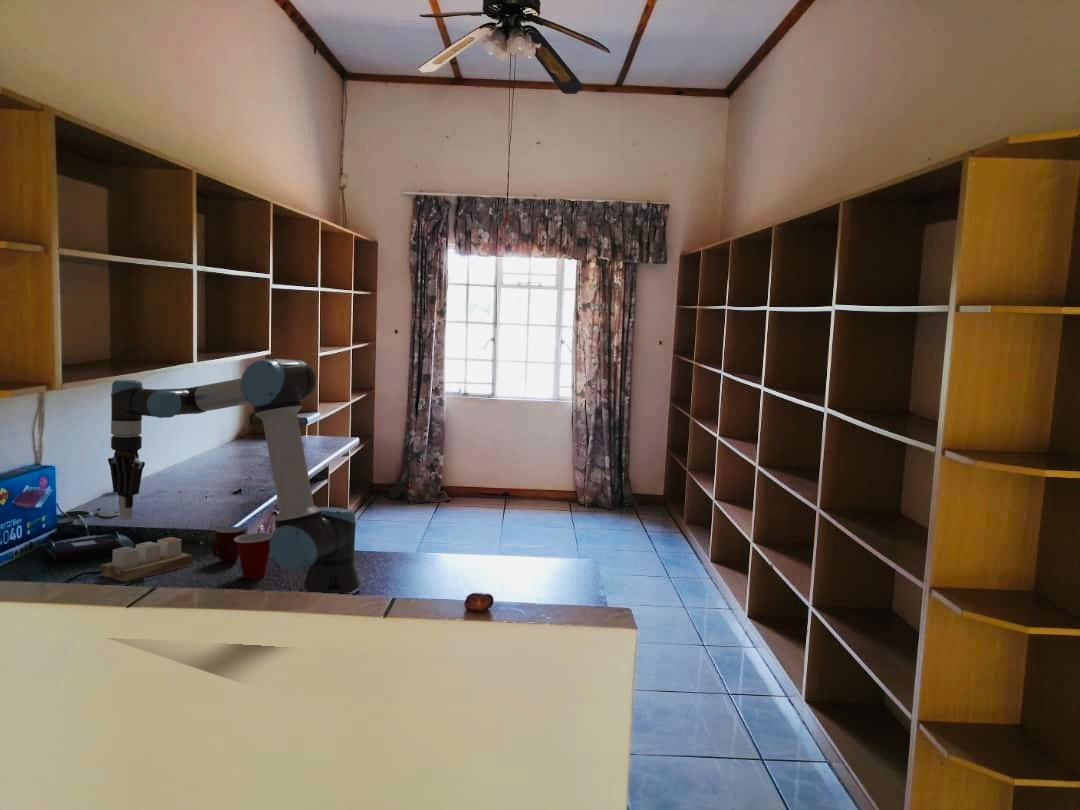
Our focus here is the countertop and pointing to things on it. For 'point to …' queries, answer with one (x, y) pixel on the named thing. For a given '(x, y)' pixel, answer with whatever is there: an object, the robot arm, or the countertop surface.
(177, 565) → the keypad board
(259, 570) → the plastic cup
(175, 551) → the beige cube
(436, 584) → the countertop surface
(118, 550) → the off-white cube
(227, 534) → the mug
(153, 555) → the beige wooden cube
